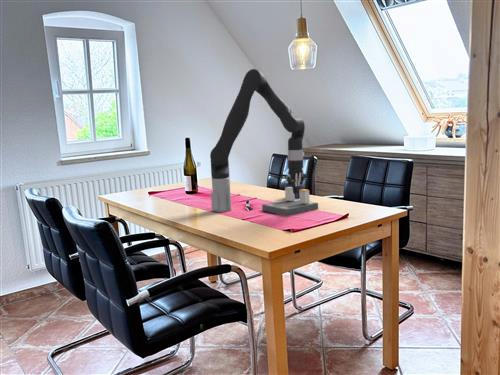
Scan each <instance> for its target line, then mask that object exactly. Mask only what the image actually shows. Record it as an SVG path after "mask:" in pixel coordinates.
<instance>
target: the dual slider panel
mask: <svg viewBox="0 0 500 375" xmlns="http://www.w3.org/2000/svg"><path fill="white" fill-rule="evenodd" d="M261 207H262V208H261V210H262V211H263V212H264V211H265V212H268V213H273V214H278V215H281V216H286V217H287V216H288V217H289V216H293V215H297V214H301V213H306V211H307V212H310V211H309V210H311V211H314V209H315V210H319V202H315V201H314V202H313V201H310V203H306V204H304V203H300V199H298V198H297V199H296V198H295V200H293V201H288V200H285V199H284V200H279V201H274V202H269V203H264V204H262V205H261Z"/></svg>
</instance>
